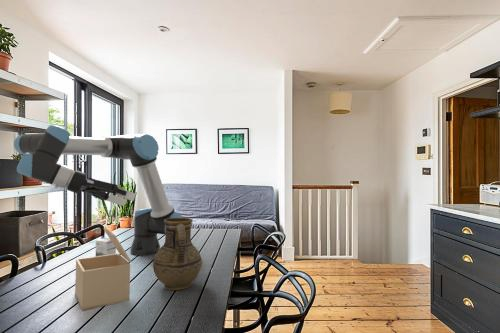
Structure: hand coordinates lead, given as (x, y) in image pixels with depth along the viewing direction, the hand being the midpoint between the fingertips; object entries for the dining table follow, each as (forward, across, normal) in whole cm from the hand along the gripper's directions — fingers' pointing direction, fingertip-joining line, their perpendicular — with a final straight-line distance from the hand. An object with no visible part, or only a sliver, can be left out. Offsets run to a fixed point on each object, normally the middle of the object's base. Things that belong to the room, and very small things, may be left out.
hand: (129, 200), depth 118 cm
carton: (+3, 0, -34) cm, 34 cm away
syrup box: (+6, -25, -27) cm, 37 cm away
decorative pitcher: (+27, +4, -26) cm, 37 cm away
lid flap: (0, +4, -17) cm, 17 cm away
